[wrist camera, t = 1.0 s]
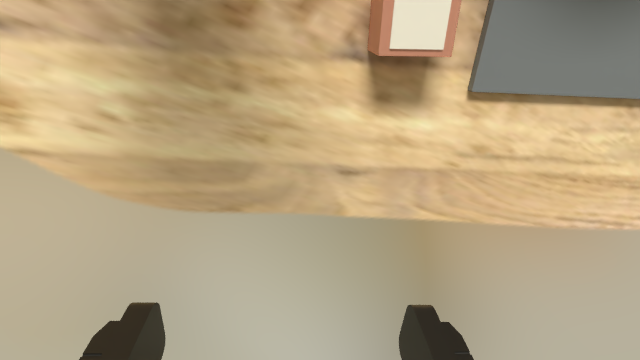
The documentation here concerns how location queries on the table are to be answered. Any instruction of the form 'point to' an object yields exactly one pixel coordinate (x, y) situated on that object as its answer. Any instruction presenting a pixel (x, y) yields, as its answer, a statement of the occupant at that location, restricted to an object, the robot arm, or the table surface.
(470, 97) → the table surface
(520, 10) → the slate mat
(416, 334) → the robot arm
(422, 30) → the card box
